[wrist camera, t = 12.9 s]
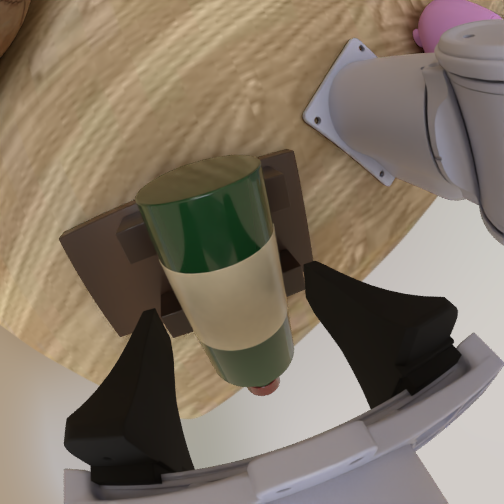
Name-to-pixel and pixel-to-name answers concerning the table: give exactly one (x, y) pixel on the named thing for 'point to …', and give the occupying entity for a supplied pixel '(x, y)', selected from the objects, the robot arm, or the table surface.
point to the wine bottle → (224, 265)
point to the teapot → (446, 20)
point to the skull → (11, 20)
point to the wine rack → (147, 262)
